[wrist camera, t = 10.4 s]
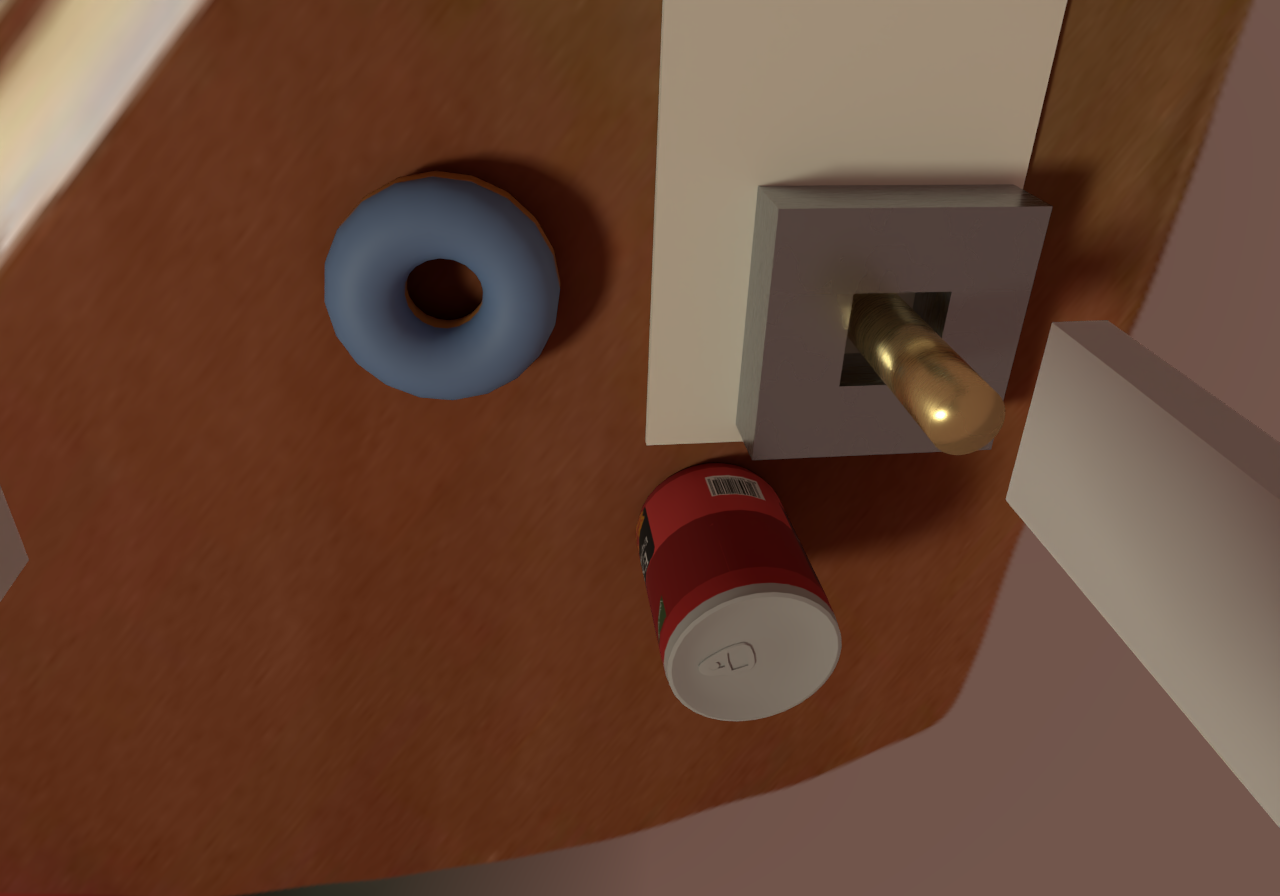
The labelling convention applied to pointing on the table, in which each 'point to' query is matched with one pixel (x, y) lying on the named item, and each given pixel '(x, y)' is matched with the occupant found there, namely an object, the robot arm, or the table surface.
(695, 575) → the canned food
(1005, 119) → the mat
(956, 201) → the square hole block
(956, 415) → the pin
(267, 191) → the table surface
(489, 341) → the doughnut
